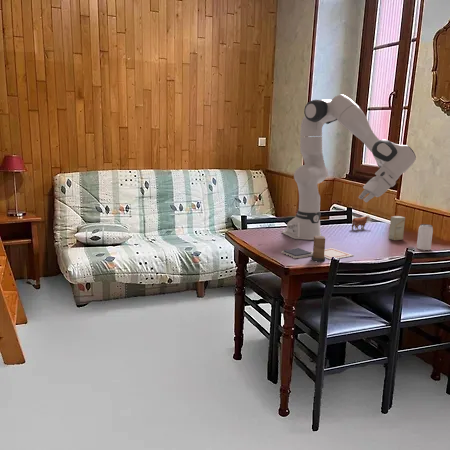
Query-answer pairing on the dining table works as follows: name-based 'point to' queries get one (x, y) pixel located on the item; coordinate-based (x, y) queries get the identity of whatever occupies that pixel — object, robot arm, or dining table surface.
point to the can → (424, 237)
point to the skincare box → (396, 228)
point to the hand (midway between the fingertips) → (362, 199)
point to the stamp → (318, 249)
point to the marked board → (335, 253)
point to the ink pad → (297, 253)
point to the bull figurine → (360, 222)
